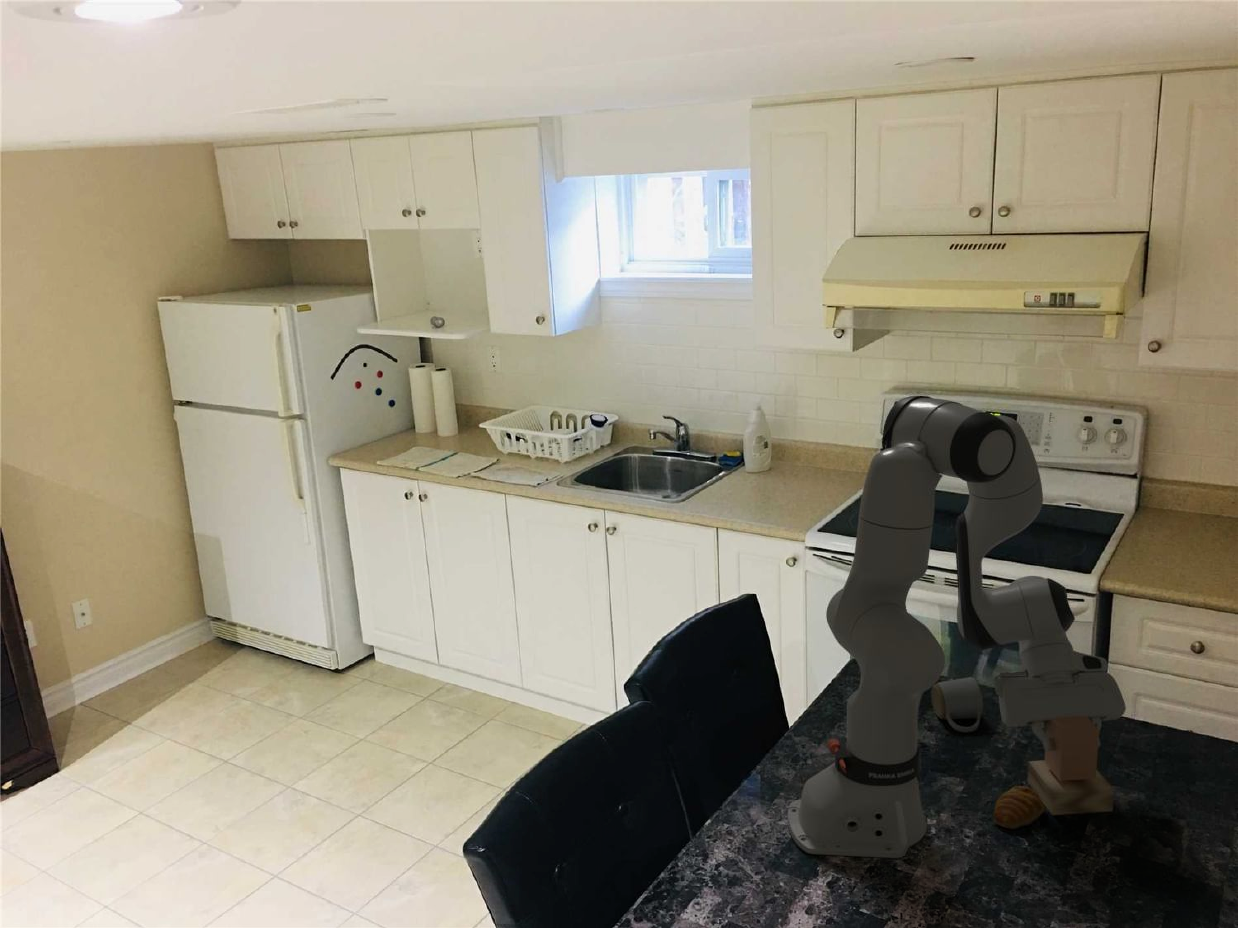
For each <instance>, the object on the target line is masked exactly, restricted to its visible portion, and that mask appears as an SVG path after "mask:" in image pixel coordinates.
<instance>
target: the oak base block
mask: <svg viewBox="0 0 1238 928" xmlns="http://www.w3.org/2000/svg"><path fill="white" fill-rule="evenodd" d="M1027 765H1028V766H1027V767H1028V768H1027V769H1028V770H1027V783H1028V785H1029V786H1030V788H1031V789H1033V790H1034V791H1036V792H1037V793H1038V795H1039V797H1040V798H1041V800H1042V802H1043V804H1044V805H1045V808H1046V809H1047V810H1048V811H1049V813H1050V814H1051V815H1052V816H1061V815H1062V816H1063V815H1073V814H1074V815H1075V814H1089V813H1101V812H1102V813H1104V812H1113V811H1114V795H1115V789H1114V787H1112V786H1111V784H1110V783H1109V782H1108V781H1107V780H1106V778H1105V777H1104V776H1103V775H1102V774H1101V773H1100V772H1099V771H1098V769H1097V770H1096V778H1095V779H1081V780H1066V781H1060V780H1059V779H1058V778H1057V777H1056V775H1055V774H1054V773H1053V772H1052V770H1051V769H1050V768H1049V766H1048V765H1047V764H1046V763H1045V759H1043V760H1031V761H1028V764H1027Z"/></svg>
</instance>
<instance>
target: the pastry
mask: <svg viewBox="0 0 1238 928" xmlns="http://www.w3.org/2000/svg"><path fill="white" fill-rule="evenodd" d="M1045 810H1046V806H1045V805H1044V803H1043V802H1042V800H1041V798H1040V797H1039V795H1038V793H1037V792H1036V791H1034V790H1033V788H1032V787H1029V786H1025V785H1023V786H1021V785H1015V786H1013V787H1010V789H1009V790H1006V791H1005V792H1004V793H1003V794H1001V795H1000V796H999V798H998V799H997V800H996V802H995V805H994V812H993V815H992V816H993V820H994V823H995V824H996V825H998V826H1000V827H1003V828H1007V829H1011V830H1016V829H1017V828H1020V827H1023V826H1028V825H1031V824H1032V823H1033V822H1034V821H1035V820H1037V819H1039V817H1040V816H1042V814H1043V813H1044V811H1045Z"/></svg>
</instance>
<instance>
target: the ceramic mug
mask: <svg viewBox="0 0 1238 928" xmlns="http://www.w3.org/2000/svg"><path fill="white" fill-rule="evenodd" d="M930 694H931V702H932V708H933V711H934V713H935V715H936V717H938V718H939V719H940V720H946V721H947V722H948V724H949V725H950V726H951V728H952V729H953V730H955V731H957V732H960V733H965V734H966V733H972V732H975V731H976V730H977V728H978V727H979V725H980V720H981V719H980V718H982V716H983V711H984V701H983V695H982V691H981V688H980V685H979V683H978V682H977V680H976V679H975V678H974V677H972V676H971V677H970V676H969V677H963V678H957V679H951V680H944V681H940V682H936V683H935V684H934V685H933V686H932V687H931V693H930ZM959 719H960V720H963V719H964V720H966V719H976V722H975V723H974V724H973V725H971V726H961V725H959V724H957V723H956V722H955V721H954V720H959Z"/></svg>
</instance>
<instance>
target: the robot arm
mask: <svg viewBox="0 0 1238 928" xmlns="http://www.w3.org/2000/svg"><path fill="white" fill-rule="evenodd" d="M1029 441H1030V440H1029V438H1028V437H1027V435H1026V433H1025V431H1024V428H1023V426H1021V424H1020V423H1019V422H1018V421H1017V420H1015V419H1014V418H1013V417H1011V416H1010V417H1009V416H1007V415H1002V414H993V413H990V412H987V411H981V410H978V409H976V408H973V407H970V406H968V405H964V404H962V403H960V402H957V401H953V400H947V399H941V398H933V397H931V396H928V395H910V396H906V397H905V396H904V397H903V398H900V399H899V400H898V401H896V402H895V403H894V405H893V406H892V407H891V408H890V410H889V413H887V416H886V418H885V422H884V425H883V430H882V437H881V447H882V448H881V449H882V450H880V451H879V452H877V453H876V454H875V455H874V456H873V457H872V459H871V461H870V464H869V468H868V471H867V474H866V478H865V481H864V485H863V488H862V494H861V498H860V499H861V500H860V504H859V513H858V522H857V529H856V530H857V533H856V537H855V538H856V540H855V548H854V556H853V561H852V565H851V567H850V570H849V574H848V577H847V579H846V581H845V584H844V586H843V587H842V588H841V589H840V590H838V591H837V592H836V593H835V594H834V595H833V596H832V597H831V599H830V600H829V602H828V605H827V609H826V612H825V615H826V617H825V618H826V622H827V624H828V627H829V629H830V632H831V634H832V635H833V637H834V639H835V640H836V642H837V643H838V645H840V646H841V647H842V648H843V650H845V651H846V652H847V653H848V654H849V655H850V656H851V657H852V658H853V659H854V660H855V661H856V662H857V664H858V666H859V669H860V670H859V671H860V682H859V686H858V689H857V690H856V691H854V692H852V693H851V695H850V696H849V698H848V699H847V703H846V740H845V742H844V743H843V744H842V745H840V742H839V740H838V739H836V738H830V739H829V740H828V742H827V744H826V746H827V748H828V750H829V753H830V754H831V755H833V756H834V762H833V763H831V764H830V765H828V766H826V768H824V769H823V770H821V771H820V772H818V773H817V774H815V775H813V776H811V777H810V778H808V780H806V782H805V783H804V786H803V788H802V793H801V797H800V799H796V800H793V801H792V802H791V803H790V804H789V805H788V806H789V807H788V809H787V815H786V816H787V817H786V823H787V827H788V830H789V832H790V835H791V837H792V839H793V841H794V842H795V844H796V845H797V846H798V847H799V848H800V849H801V850H803V851H804V852H806V853H807V854H810V855H825V856H826V855H827V856H829V855H830V856H844V857H845V856H848V857H867V858H886V859H887V858H889V859H900V858H903V857H904V856H905V855H906V853H907V852H908V850H909V848H910V847H912V846H913V845H915V844H917V842H920V840H922V838H923V837H925V835H926V832H927V830H928V826H927V825H928V824H927V821H926V818H925V815H924V812H923V806H922V803H921V796H920V795H921V794H920V789H919V787H920V786H919V781H920V778H921V777H920V776H921V771H922V769H921V766H922V762H921V750H920V747H919V746H918V728H919V727H918V726H919V723H918V722H919V708H920V703H921V700H922V697H923V694H924V692H926V691H928V690H929V689H932V687H933V686H934V685H935V684H937V683H938V681H939V679H940V678H941V676H942V674H943V671H944V669H945V663H946V657H945V652H944V650H943V648H942V645H941V644H940V642H939V641H938V640H937V638H936V637H935V636H934V634H933V633H932V631H931V630H930V629H929V628H928V627H927V625H925V624H924V623H923V622H921V621H920V620H918V619H917V618H916V617H915V616H914V615H912V614H910V612H908V609H907V603H906V602H907V597H908V594H909V593H910V591H911V590H910V589H911V587H912V585H913V583H914V582H917V581H918V580H920V579H922V578H923V576H925V574H926V573H927V570H928V567H929V559H930V551H931V542H932V535H933V534H932V533H933V528H934V527H933V526H934V519H935V504H936V503H935V502H936V501H935V496H936V495H935V493H936V489H937V486H938V484H939V482H940V481H941V479H942V478H943V476H948V477H951V478H957V479H961V480H962V481H964V482H966V485H967V486H966V487H967V489H968V495H969V497H968V503H967V505H966V507H965V510H964V511H963V512H961V514H959V515H958V516H957V518H956V523H955V527H954V529H955V530H954V531H955V532H954V533H955V536H954V537H955V563H956V578H957V579H956V581H957V600H958V602H957V606H956V621H957V623H956V624H957V625H958V626H957V627H958V630H959V633H960V634H961V637H963V640H964V641H965V642H966V643H968V644H969V645H971V646H973V647H974V648H977V649H979V650H982V651H985V650H989V649H994V648H997V647H1000V646H1002V645H1005V644H1006V645H1007V644H1012V643H1016V642H1017V643H1018V647H1019V658H1020V662H1021V665H1022V669H1023V670H1015V671H1002V672H999V674H998V675H996V676H995V677H994V679H993V686H994V690H995V693H996V695H997V696H998V702H999V704H998V705H999V710H1000V712H999V713H1000V717H1001V721H1002V723H1003V724H1004V725H1006V726H1007V727H1009V728H1013V727H1016V728H1017V727H1027V726H1028V727H1029V726H1031V730H1032V733H1033V734H1034V735H1035V736H1036V737H1037V738H1038V739H1039V741H1041V742H1042V745H1043V749H1044V752H1045V751H1054V750H1055V749H1056V744H1055V740H1054V738H1049V737H1048V735H1047V734H1046V731H1044V729H1045V725H1046V724H1047V720H1050V719H1051V718H1062V717H1077V716H1087V717H1088V718H1089V719H1090V720H1091V722H1092V723H1093V724H1094V725H1095V726H1096V727H1097V728H1098V729H1099V733H1100V731H1101V728H1102V722H1103V721H1116V720H1118V719H1120V718H1121V717H1123V716H1124V715H1125V712H1126V709H1127V707H1126V703H1125V701H1124V697H1123V695H1122V692H1121V690H1120V687H1119V685H1118V682H1117V681H1116V679H1115V677H1113V675H1112V674H1110V673H1109V672H1106V671H1107V670H1108V668H1109V665H1108V662H1107V659H1105V658H1104V657H1100V656H1096V655H1090V654H1087V653H1082V652H1079V651H1076V650H1074V647H1073V645H1072V643H1071V641H1070V640H1069V638H1068V636H1067V632H1068V631H1069V629H1070V628H1071V626H1072V625H1073V623H1074V621H1075V620H1076V619H1075V618H1076V617H1075V615H1074V612H1073V611H1072V609H1071V605H1070V603H1069V600H1068V591H1067V589H1066V587H1065V586H1064V585H1062V584H1061V583H1060V582H1058V581H1056V580H1054V579H1051V578H1050V577H1049V578H1048V577H1047V578H1045V577H1043V576H1038V575H1026V576H1022V577H1019V578H1017V579H1015V580H1013V581H1012V582H1011V583H1010V584H1008V585H1003V586H997V587H993V588H984V587H983V567H982V566H983V564H982V563H983V559H984V557H985V556H986V555H987V554H988V553H989V552H990V551H991V550H993V548H995V547H996V546H998V545H999V544H1001V543H1002V542H1004V541H1006V540H1008V539H1009V538H1011V537H1013V536H1016V535H1018V534H1020V533H1021V532H1022V531H1024V530H1026V528H1028V527H1029V526H1030V525H1031V524H1032V523H1033V522H1034V521H1035V519H1036V518H1037V517H1038V515H1039V514H1040V512H1041V509H1042V507H1043V503H1044V498H1043V497H1044V495H1043V484H1042V482H1041V481H1042V480H1041V479H1042V478H1041V475H1040V472H1039V468H1038V463H1037V461H1036V457H1035V454H1034V451H1033V448H1032V445H1031V444H1030V442H1029ZM1101 746H1102V745H1101V739H1100V738H1098V748H1100V747H1101Z"/></svg>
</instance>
